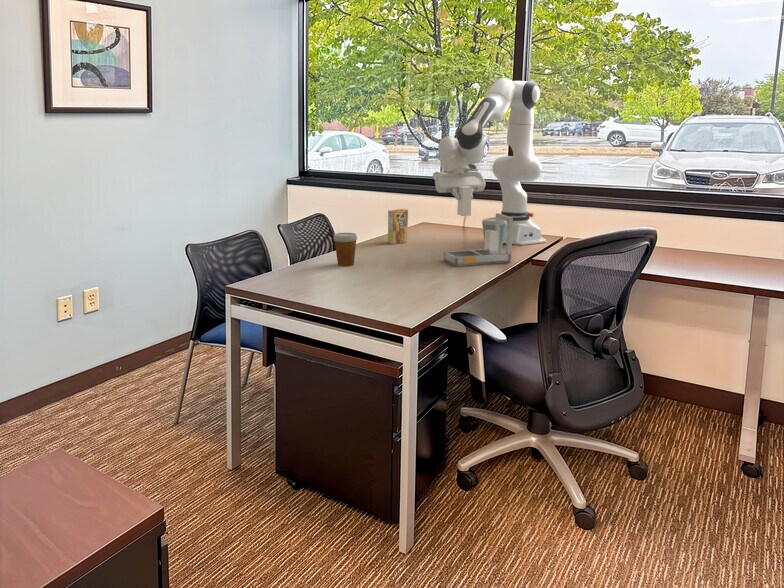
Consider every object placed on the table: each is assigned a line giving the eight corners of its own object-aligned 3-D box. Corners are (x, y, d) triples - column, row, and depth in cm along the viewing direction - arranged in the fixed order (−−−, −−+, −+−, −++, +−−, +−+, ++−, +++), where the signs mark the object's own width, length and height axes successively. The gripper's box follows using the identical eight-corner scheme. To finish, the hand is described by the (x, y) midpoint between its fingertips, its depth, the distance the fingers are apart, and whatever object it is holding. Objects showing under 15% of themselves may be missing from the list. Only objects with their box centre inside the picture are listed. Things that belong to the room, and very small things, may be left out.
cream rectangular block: (465, 213, 253) (466, 186, 250) (470, 215, 249) (471, 187, 246) (457, 214, 252) (458, 186, 249) (462, 216, 248) (463, 187, 245)
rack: (497, 256, 266) (499, 213, 261) (511, 262, 255) (513, 217, 250) (443, 260, 259) (444, 216, 254) (455, 266, 248) (456, 220, 243)
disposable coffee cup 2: (486, 255, 268) (488, 220, 264) (476, 250, 278) (477, 216, 274) (509, 254, 270) (511, 219, 266) (499, 249, 280) (500, 215, 276)
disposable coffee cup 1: (333, 262, 256) (333, 232, 253) (357, 261, 257) (357, 232, 254) (333, 267, 247) (332, 236, 244) (358, 267, 248) (357, 236, 245)
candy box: (402, 241, 300) (402, 208, 296) (408, 242, 297) (408, 209, 293) (387, 243, 295) (387, 210, 291) (393, 244, 292) (393, 211, 288)
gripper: (433, 166, 249) (442, 194, 243) (481, 165, 255) (491, 192, 249) (429, 177, 254) (438, 205, 248) (476, 176, 260) (485, 202, 254)
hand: (465, 198), depth 248 cm, fingers closed on cream rectangular block, 3 cm apart
